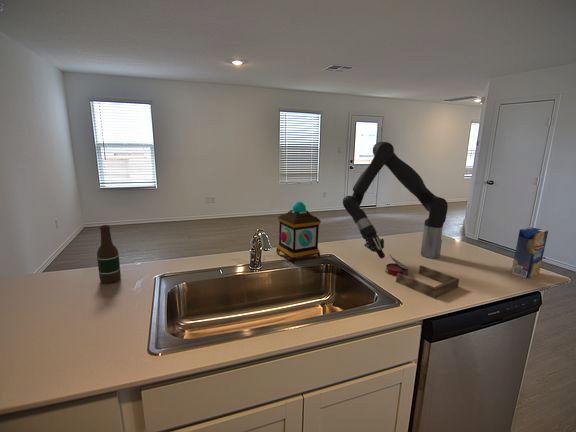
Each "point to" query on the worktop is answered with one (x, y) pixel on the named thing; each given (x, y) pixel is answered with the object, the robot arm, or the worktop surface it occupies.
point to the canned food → (396, 268)
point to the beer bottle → (108, 258)
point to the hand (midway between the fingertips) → (383, 257)
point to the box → (428, 290)
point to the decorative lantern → (298, 233)
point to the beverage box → (529, 252)
